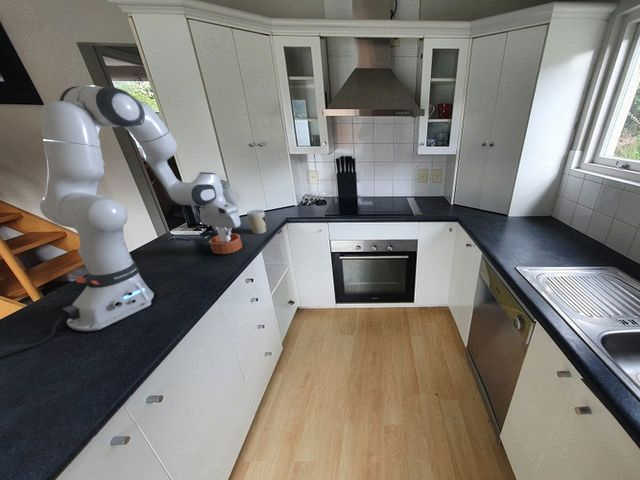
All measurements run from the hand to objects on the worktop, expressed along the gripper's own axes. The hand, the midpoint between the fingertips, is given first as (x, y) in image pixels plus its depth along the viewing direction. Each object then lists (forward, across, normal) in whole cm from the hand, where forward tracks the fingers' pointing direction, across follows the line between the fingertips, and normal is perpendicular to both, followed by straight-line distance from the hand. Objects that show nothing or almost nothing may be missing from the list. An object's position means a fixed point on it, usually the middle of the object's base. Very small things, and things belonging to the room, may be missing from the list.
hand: (223, 234), depth 135 cm
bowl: (+8, 0, 0) cm, 8 cm away
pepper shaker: (+4, 0, 0) cm, 4 cm away
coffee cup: (+8, -1, +26) cm, 27 cm away
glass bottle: (+8, -23, +29) cm, 38 cm away
